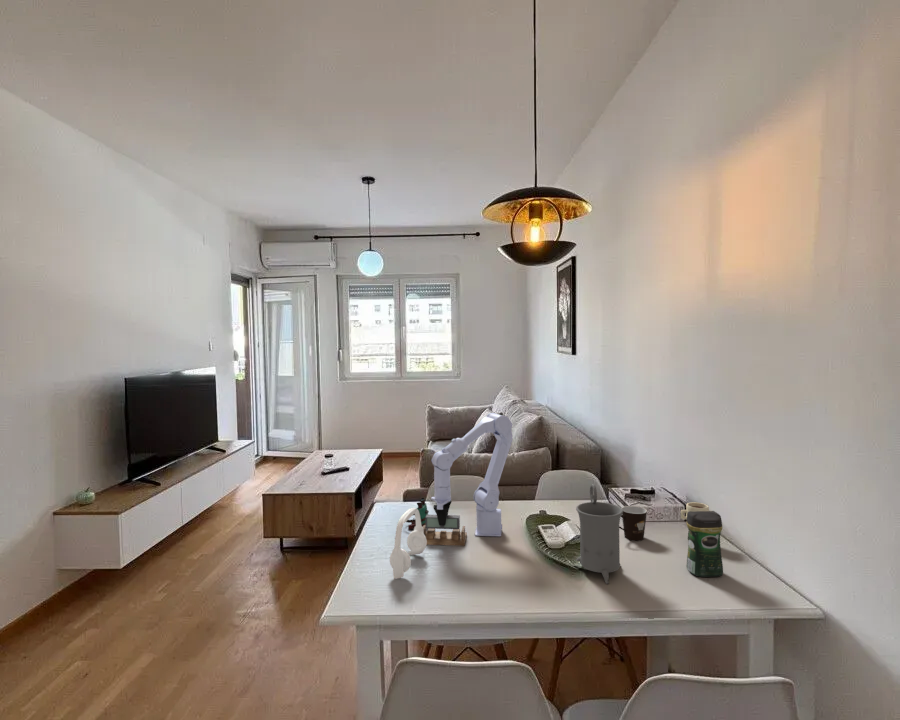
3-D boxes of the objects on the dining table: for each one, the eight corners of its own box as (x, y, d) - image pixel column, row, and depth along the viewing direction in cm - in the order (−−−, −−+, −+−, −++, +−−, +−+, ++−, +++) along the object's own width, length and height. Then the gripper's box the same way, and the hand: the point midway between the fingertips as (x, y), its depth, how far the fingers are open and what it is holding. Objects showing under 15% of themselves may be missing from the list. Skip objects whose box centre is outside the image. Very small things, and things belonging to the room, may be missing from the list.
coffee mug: (643, 533, 191) (643, 506, 191) (649, 542, 183) (649, 513, 182) (610, 532, 193) (610, 505, 192) (615, 541, 184) (615, 513, 184)
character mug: (710, 539, 185) (710, 502, 184) (717, 547, 178) (717, 509, 177) (678, 537, 186) (677, 501, 186) (683, 545, 179) (683, 507, 179)
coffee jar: (714, 566, 163) (714, 507, 162) (727, 578, 155) (727, 515, 154) (682, 567, 163) (682, 507, 162) (693, 578, 155) (693, 516, 154)
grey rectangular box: (460, 526, 189) (459, 515, 189) (459, 529, 186) (458, 518, 186) (427, 525, 191) (426, 514, 191) (425, 528, 188) (425, 517, 187)
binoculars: (405, 497, 207) (429, 496, 205) (408, 524, 207) (432, 523, 205) (398, 504, 198) (424, 503, 196) (401, 532, 199) (427, 531, 197)
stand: (466, 535, 193) (466, 524, 192) (464, 545, 183) (464, 534, 183) (423, 533, 195) (423, 523, 194) (418, 544, 185) (418, 533, 184)
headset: (408, 582, 156) (406, 522, 155) (385, 579, 158) (384, 520, 157) (429, 555, 175) (428, 502, 175) (409, 553, 177) (408, 500, 177)
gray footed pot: (633, 584, 152) (633, 498, 151) (581, 584, 152) (581, 499, 152) (614, 557, 171) (614, 481, 170) (568, 557, 171) (568, 481, 170)
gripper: (434, 480, 196) (434, 516, 196) (427, 491, 181) (428, 530, 182) (453, 480, 195) (453, 516, 195) (448, 491, 180) (449, 530, 181)
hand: (442, 523), depth 188 cm, fingers closed on grey rectangular box, 3 cm apart
